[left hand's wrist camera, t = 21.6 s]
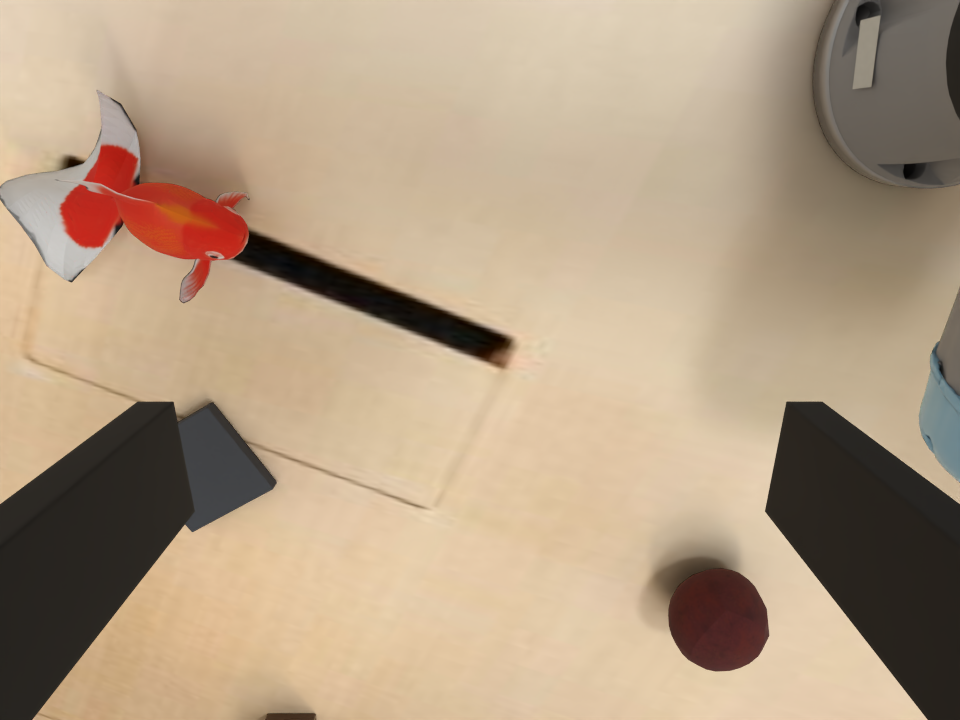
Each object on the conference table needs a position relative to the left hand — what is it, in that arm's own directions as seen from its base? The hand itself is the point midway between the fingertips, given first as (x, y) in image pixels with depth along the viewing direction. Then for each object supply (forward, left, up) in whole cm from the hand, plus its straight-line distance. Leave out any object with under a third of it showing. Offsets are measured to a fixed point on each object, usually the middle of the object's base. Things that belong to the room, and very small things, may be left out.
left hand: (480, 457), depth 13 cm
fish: (+17, -13, -29) cm, 36 cm away
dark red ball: (-2, +34, -29) cm, 44 cm away
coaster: (+27, +4, -29) cm, 40 cm away
